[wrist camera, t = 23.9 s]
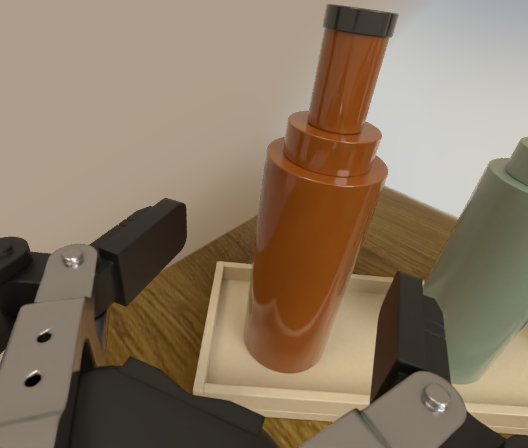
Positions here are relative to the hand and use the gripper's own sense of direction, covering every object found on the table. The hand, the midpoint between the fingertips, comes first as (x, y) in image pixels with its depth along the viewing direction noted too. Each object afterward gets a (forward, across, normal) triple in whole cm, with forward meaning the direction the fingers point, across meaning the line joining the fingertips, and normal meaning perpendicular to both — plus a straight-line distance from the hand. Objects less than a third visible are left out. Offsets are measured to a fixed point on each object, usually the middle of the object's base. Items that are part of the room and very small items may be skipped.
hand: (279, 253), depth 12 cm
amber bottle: (+6, 0, +12) cm, 14 cm away
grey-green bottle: (+11, -11, +12) cm, 20 cm away
